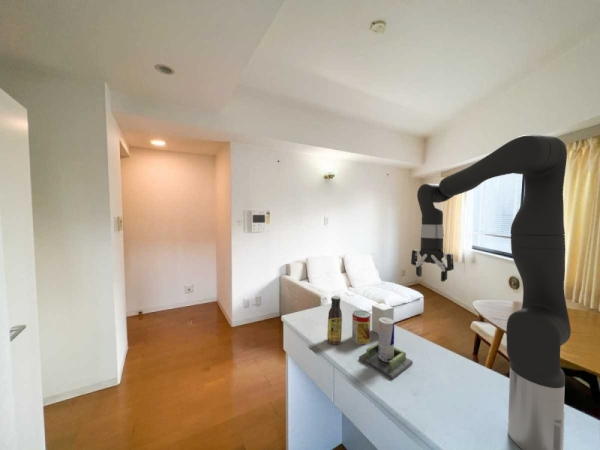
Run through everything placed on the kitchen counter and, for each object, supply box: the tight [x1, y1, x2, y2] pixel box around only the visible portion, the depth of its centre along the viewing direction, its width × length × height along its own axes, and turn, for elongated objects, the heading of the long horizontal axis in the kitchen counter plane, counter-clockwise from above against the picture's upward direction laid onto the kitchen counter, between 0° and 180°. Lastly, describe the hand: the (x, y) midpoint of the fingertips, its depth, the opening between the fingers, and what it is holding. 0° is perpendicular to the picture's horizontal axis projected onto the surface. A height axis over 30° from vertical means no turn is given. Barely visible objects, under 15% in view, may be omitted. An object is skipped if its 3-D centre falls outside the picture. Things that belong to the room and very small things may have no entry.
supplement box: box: [371, 302, 395, 335], centre depth 111 cm, size 7×7×13 cm
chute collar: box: [358, 342, 414, 380], centre depth 87 cm, size 14×14×4 cm
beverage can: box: [377, 317, 395, 362], centre depth 87 cm, size 6×6×15 cm
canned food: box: [351, 309, 371, 345], centre depth 104 cm, size 8×8×12 cm
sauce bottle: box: [326, 295, 343, 345], centre depth 102 cm, size 7×6×20 cm
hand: (430, 278), depth 87 cm, fingers open, 8 cm apart
